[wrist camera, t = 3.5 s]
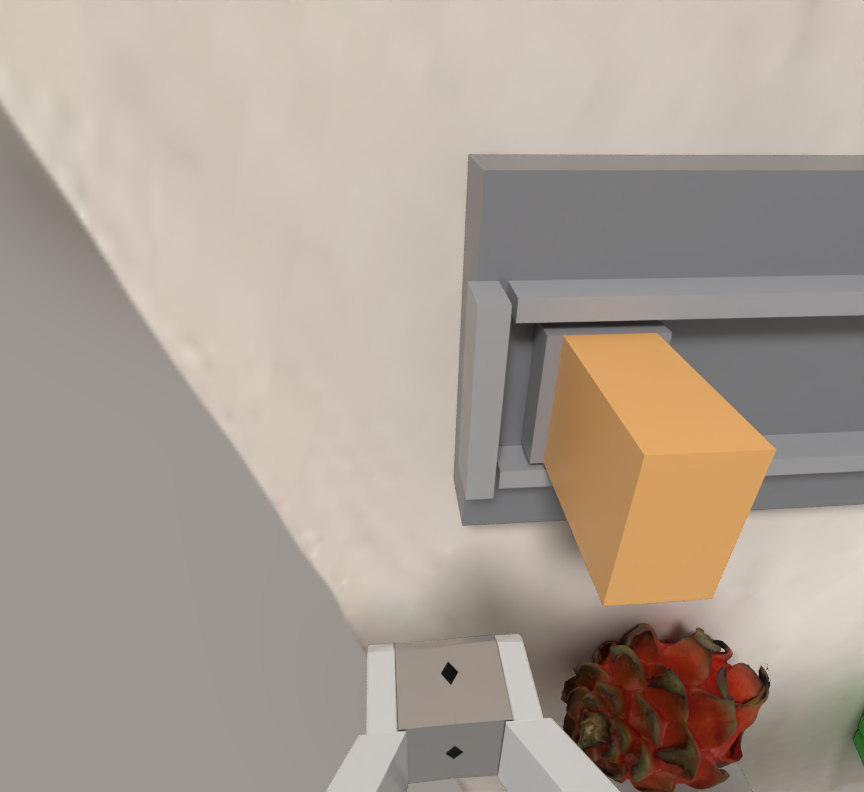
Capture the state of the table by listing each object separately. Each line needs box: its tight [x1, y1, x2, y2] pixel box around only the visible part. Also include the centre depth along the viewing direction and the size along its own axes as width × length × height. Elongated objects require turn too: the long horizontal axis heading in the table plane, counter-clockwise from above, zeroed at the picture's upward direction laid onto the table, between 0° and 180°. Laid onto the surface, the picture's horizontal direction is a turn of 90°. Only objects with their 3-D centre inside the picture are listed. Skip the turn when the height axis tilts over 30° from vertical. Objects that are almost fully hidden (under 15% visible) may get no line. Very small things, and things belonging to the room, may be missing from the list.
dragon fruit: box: [561, 624, 770, 792], centre depth 31 cm, size 8×8×12 cm
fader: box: [521, 320, 776, 606], centre depth 16 cm, size 5×4×7 cm
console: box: [454, 155, 864, 526], centre depth 21 cm, size 14×29×5 cm, turn 89°
